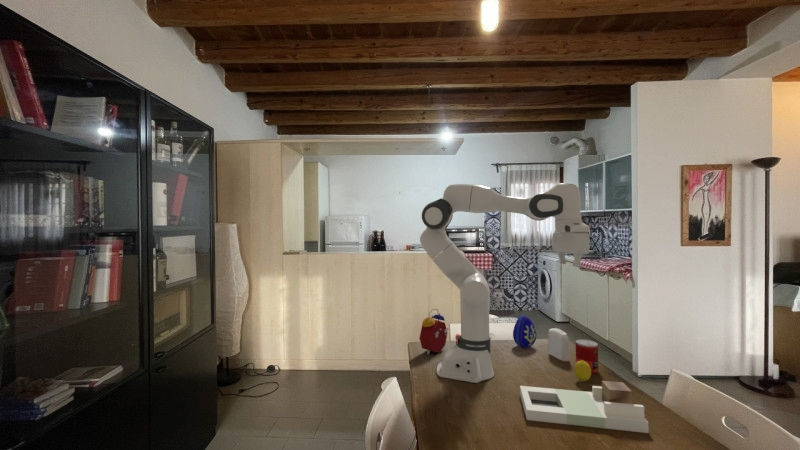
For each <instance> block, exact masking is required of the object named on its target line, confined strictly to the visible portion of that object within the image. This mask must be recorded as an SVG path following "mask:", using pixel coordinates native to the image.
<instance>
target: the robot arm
mask: <svg viewBox="0 0 800 450" xmlns="http://www.w3.org/2000/svg"><path fill="white" fill-rule="evenodd" d="M581 209H582V198H581V191H580V188H579V187H578V186H577V184H575V183H569V182H563V183H562V182H559V183H557V184H555V185H554V186H553V187H551V188H549V189H547V190H545V191H543V192H540V193H537V194H535V195H533V196H530V197H526V198H523V197H515V196H509V195H508V196H507V195H503V194H500V193H498V192H497V191H495V190H494V189H493V188H491V187H487V186H484V185H479V184H473V183H472V184H471V183H470V184H469V183H456V184H449V185H448V186H447V187H445V190H444V191H443V196H442V198H438V199H437V200H434V201H432V202H430V203H427V204H426V205H425V206H424V208H423V209H422V212H421V220H422V223H423V224H424V225H425V226H426V228H425V229H424V230H423V231H422V233H421V235H420V237H419V241H420V244H421V246H422V248H423V250H424V251H425V253H426V255H428V256H429V258H430V259H431V260H432V261H433V263H434V264H435V265H436V266H437V268H439V270H440V271H441V272H442V274H444V276H446V277H447V278H448V279H449V280H450V281H451V282H452V283H453V285H455V286H456V287H457V288H458V289H459V291H460V292H459V293H460V294H459V295H460V297H459V299H460V300H459V301H460V302H459V303H460V334H459V333H457V334H456V335H455V345H454V346H452V347H451V348H449V349H447V350H446V351H445V352H444V354H443V356H442V360H441V361H440V362H439V363H438V364H437V366H436V374H437V376H438V377H440V378H445V379H450V380H456V381H463V382H468V383H474V384H478V383H480V382H482V381H486V380H490V379H492V378H493V377H494V376H495V372H494V368H493V364H492V363H493V362H492V358H491V353H492V352H491V350H492V340H491V337H490V303H491V302H490V300H491V299H490V298H491V295H490V294H491V292H490V291H491V290H490V286H489V283H488V281H487V279H486V277H484V276H483V274H482V273H481V272H480V270H479V269H478V268H477V267H475V265H474V264H473V263H472V262H471V261H470V260H469V259H468V257H466V256H465V254H464V253H463V252H462V251H461V250H460V249H459V248H458V247H457V245H456V244H455V243H454V242H453V241H452V240H451V239H450V237H449V236H448V235H447V233H446V230H447V228H448V227H449V225H450V224H451V222H452V219H453V214H454V213H457V212H463V213H465V212H466V213H473V214H483V213H484V214H486V213H493V212H505V213H506V212H507V213H512V214H520V215H521V214H522V215H525V216H526V217H528V218H529V219H531V220H535V221H539V222H541V221H544V220H547V219H548V218H551V217H552V218H554V232H553V233H552V240H551V241H552V242H551V248H552V251H553V252H557V255H558V259H559V264H561V265H566V264H567V258H566V257H565V256H566V253H567V254H572V255H573V257H574V258H573V260H572V266H573V267H574V268H575V267H576V268H579V267H580V266H581V260H582V257H583V255H588V254H589V252H590V235H589V233H590V230H591V228H590V225H587V224H586V223H584V222H583V221H582V215H581Z"/></svg>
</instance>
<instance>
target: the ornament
mask: <svg viewBox="0 0 800 450" xmlns="http://www.w3.org/2000/svg"><path fill="white" fill-rule="evenodd" d="M512 330H513V331H512V339H513V341H514V343H515V344H516V345H517V346H519V347H520V348H522V349H529V348H531V347H533V345H534V344H535V342H536V341H537V330H536V327H535V325H534V322H533V321H532V320H531V319H530V318H529V317H528V316H526V315H520V316H519V317H517V320H516V322H515V323H514V327H513V329H512Z"/></svg>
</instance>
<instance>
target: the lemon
mask: <svg viewBox="0 0 800 450" xmlns="http://www.w3.org/2000/svg"><path fill="white" fill-rule="evenodd" d="M573 372H574V375H575V377H576V378H577V379H578V380H579V381H581V382H583V383H584V382H586V381H588V380H590V378H591V376H592V373H591V369H590V366H589V364H588V363H586V362H585V361H583V360H581V361H578V362H577V363H576V362H575V364H574V371H573Z"/></svg>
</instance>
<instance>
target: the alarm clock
mask: <svg viewBox="0 0 800 450" xmlns="http://www.w3.org/2000/svg"><path fill="white" fill-rule="evenodd" d="M433 311H437V314H433V315H432V316H431V317H430V314H431V312H433ZM443 321H446V319H445V317H444V316H443V315H441V312H440V313H439V309H437V308H432V309H431V310H430V311H429V312H428V316H427V317H425V318H424V319H423V321H422V324H421V330H420V334H419V341H420V345H421V349H422V350H423V349H424V350H427V351H426V352H427V354H426V355H430V353H431V352H434V353H438V354H439V352H440V353H441V351H442V350H443V348H444V347H445V346H446V342H447V339H448V331H449V329H450V328H449V327H447V325H446V323H445V322H443Z"/></svg>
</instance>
